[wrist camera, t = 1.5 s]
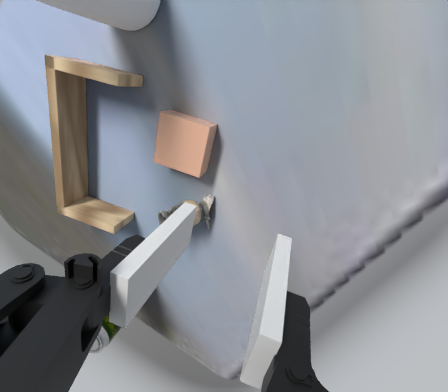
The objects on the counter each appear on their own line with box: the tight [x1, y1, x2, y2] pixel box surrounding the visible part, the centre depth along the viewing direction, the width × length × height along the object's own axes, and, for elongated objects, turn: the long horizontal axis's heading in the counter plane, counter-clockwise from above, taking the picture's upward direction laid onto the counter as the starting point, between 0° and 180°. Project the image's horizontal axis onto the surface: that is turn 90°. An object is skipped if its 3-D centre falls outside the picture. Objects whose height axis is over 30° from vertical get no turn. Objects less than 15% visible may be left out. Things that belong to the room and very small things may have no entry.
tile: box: [154, 110, 218, 178], centre depth 31 cm, size 6×6×3 cm
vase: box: [158, 193, 214, 229], centre depth 32 cm, size 5×5×6 cm
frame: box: [45, 55, 143, 234], centre depth 33 cm, size 9×20×4 cm, turn 167°
